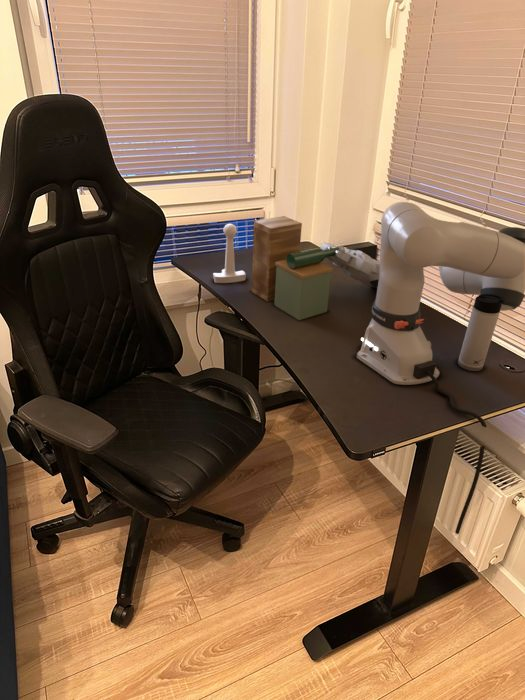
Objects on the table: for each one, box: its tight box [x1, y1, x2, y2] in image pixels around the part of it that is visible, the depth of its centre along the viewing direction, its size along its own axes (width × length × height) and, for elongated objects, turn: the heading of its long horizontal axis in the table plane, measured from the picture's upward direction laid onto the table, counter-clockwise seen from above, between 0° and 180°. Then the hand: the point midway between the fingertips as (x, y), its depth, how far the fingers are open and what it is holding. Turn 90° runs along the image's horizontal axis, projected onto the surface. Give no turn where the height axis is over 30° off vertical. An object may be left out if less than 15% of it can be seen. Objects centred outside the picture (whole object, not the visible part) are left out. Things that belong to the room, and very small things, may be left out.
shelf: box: [251, 215, 303, 302], centre depth 163 cm, size 9×12×24 cm
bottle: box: [286, 245, 346, 269], centre depth 154 cm, size 20×4×4 cm, turn 125°
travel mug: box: [457, 294, 505, 372], centre depth 128 cm, size 6×7×20 cm
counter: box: [273, 260, 334, 321], centre depth 156 cm, size 13×12×14 cm
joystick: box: [212, 223, 247, 284], centre depth 174 cm, size 11×8×20 cm
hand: (332, 250), depth 156 cm, fingers open, 3 cm apart
